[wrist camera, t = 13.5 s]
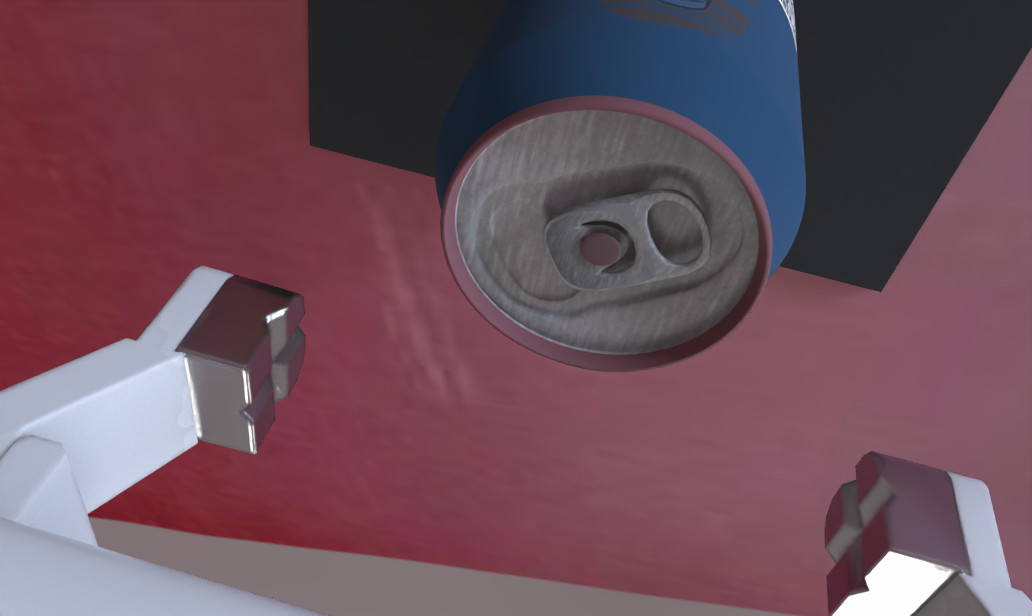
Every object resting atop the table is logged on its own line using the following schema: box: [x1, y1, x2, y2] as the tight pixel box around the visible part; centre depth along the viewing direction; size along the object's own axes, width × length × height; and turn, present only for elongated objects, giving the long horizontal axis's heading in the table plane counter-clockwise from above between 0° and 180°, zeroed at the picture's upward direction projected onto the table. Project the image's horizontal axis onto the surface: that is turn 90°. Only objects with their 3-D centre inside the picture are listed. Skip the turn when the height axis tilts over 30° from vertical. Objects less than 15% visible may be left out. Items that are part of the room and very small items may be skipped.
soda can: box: [435, 0, 806, 372], centre depth 19 cm, size 7×7×12 cm
